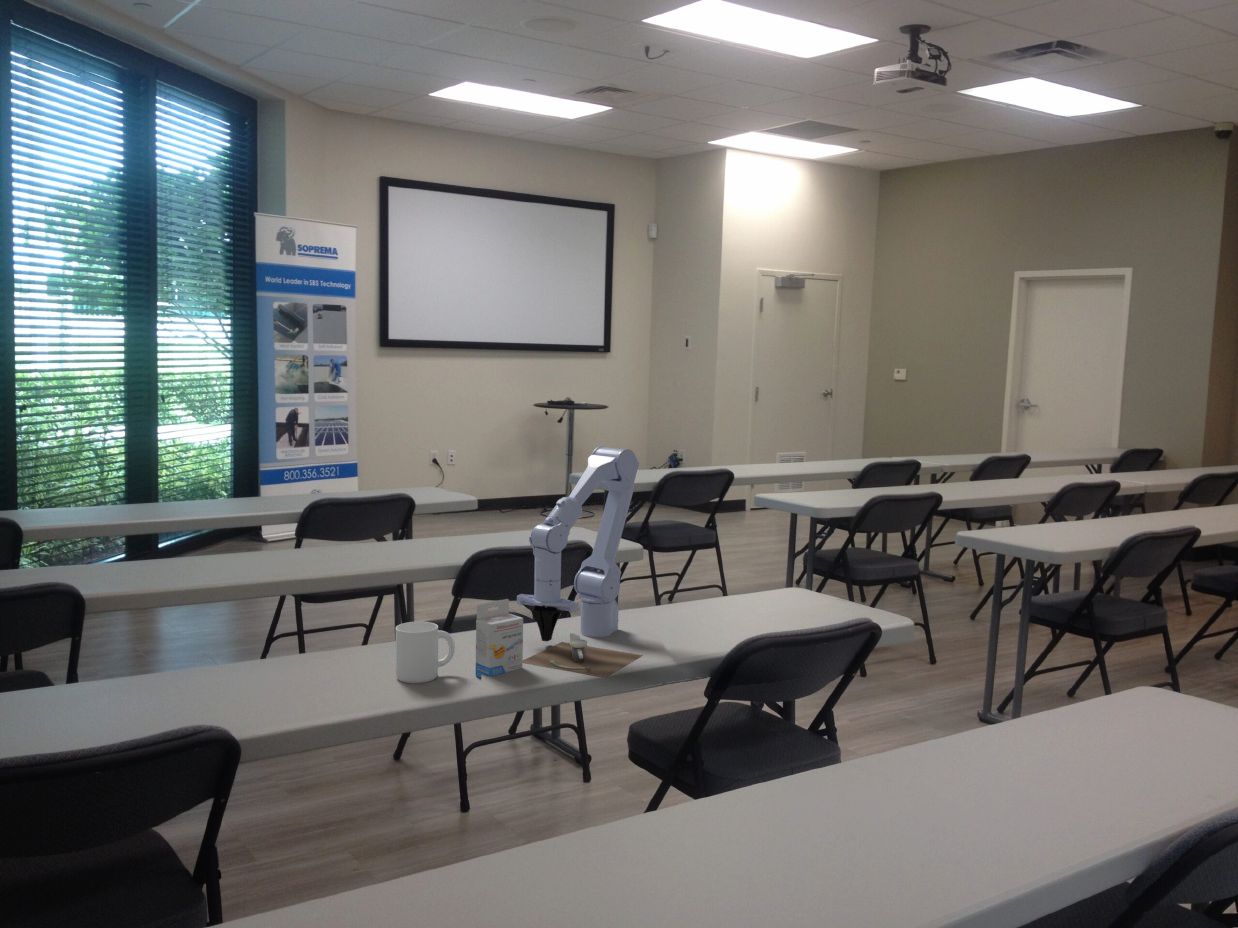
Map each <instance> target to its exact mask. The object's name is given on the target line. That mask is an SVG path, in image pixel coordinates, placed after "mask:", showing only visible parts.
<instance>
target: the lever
mask: <svg viewBox="0 0 1238 928" xmlns="http://www.w3.org/2000/svg"><path fill="white" fill-rule="evenodd" d="M569 643H570V646H571V649H572V661H573V662H583V661H584V654H585V647H586V646H588V640H586V639H583V638H581V637H580V633H579V632H575V633H574V632H572V633H571V632H570V633H569Z"/></svg>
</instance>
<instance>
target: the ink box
mask: <svg viewBox="0 0 1238 928" xmlns="http://www.w3.org/2000/svg"><path fill="white" fill-rule="evenodd" d="M476 607H477V608H476V620H475V677H476V678H479V679H482V675H484V676H488V677H493V676H495V675H496V676H497V675H501V674H504V673H509V672H512V671H513V672H514V671H517V670H520V669H523V663H522V661H523V660H524V659H523V656H524V653H523V652H524V649H523V648H524V617H521V616H519V615H515V614H512V613H509V611H510V599H508V598H505V599H499V600H494V601H489V602H488V601H487V602H484V603H478V605H477V606H476ZM492 607H498V608H497V609H493V610H491V609H490V608H492ZM488 609H490V610H488Z"/></svg>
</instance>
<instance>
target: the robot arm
mask: <svg viewBox="0 0 1238 928" xmlns="http://www.w3.org/2000/svg"><path fill="white" fill-rule="evenodd" d="M639 465H640V462H639V460H638V458H637V456H636V454H635V452H634V451H633V450H632V449H630V448H615V447H606V446H601V445H600V446H597V447H595V448H594V449H593V451H592V453H591V454H590V456H589V457H588V458H587V467H586V469H585V470H584V471H583V473H582V475H581V477H580V478H579V480H578V481H577V483H576V484H575V486H574V488H573V489H572V491H571V493H570V494H569V496H563V497H561V498H559V499H558V500H557V501H556V503H555V504H556V505H555V506H554V507H553V509H552V510H551V511H550V513H549V514H548V515H547V517H545V519H544V521H543V522H542V523H540V524H537V525H536V526H534V527H533V529H532V531H531V533H530V535H529V537H528V541H529V544H530V546H531V547H532V555H533V556H534V580H533V581H534V583H533V584H534V589H533V590H534V593H533V594H524V593H520V594H518V595H516V604H517V605H520V606H521V605H526V606H534V608H533V609H531V614H532V617H534V619H535V621H536V624H537V628H538V630H539V634H540V636H541V637H540V639H541V641H542V642H549V641H551V640H552V639H553V633H554V630H555V627H556V626H557V623H558V620H559V618H560V617H561V614H562V612H563V611H566V612H570V613H573V614H574V613H577V612H578V611H579V601H573V600H570V599H566V598H562V597H561V590H562V588H561V584H562V583H561V580H562V577H561V576H562V551H563V550H564V549H565V548H566V547H567V544H568V539H569V535H570V531H571V529H572V528H573V527H574V525H575V524H576V523H577V521H578V520H579V519H580V517H581V516H582V514H583V506H582V505H584V504H585V502H586V501H587V500H588V498H589V497H590V496H591V495H592V494H593V492H594V491H595V490H596V489H597V488H598V486H599V485H600V484H601V483H602V482H603V483H604V484H605V485H606V487H607V489H608V493H607V497H606V502H605V505H604V509H603V512H602V516H601V520H600V523H599V527H598V531H597V534H596V537H595V538H596V539H595V542H594V544H593V545H594V546H593V549H592V553H591V555H590V556H588V557H587V558H586V559H584V560H583V561H582V562H581V565H580V568H579V570H578V572H576V574H575V576H574V581H573V587H574V590H575V592H576V593H577V594H578V598H579V599H580V633H579V634H580V635H582V636H584V637H589V638H604V637H605V638H606V637H608V636H611V635H612V634H613V633H614V632H616V631H618V630H619V605H618V603H617V601H616V598H618V597H617V596H618V595H619V593H620V589H621V575H622V571H621V568H620V567H619V566H618V565H617V563H616V556H617V554H618V551H619V546H620V542H621V539H622V535H623V531H624V528H625V524H626V521H627V516H628V513H629V508H630V505H631V501H632V497H633V494H634V490H635V480H636V476H637V473H638V470H639ZM602 571H603V572H602Z"/></svg>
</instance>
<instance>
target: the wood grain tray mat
mask: <svg viewBox="0 0 1238 928" xmlns="http://www.w3.org/2000/svg"><path fill="white" fill-rule="evenodd" d="M643 656H644V655H643V654H639V653H638V654H636V653H632V652H625V651H620V650H613V649H607V648H603V647H601V648H600V647H595V646H590V645H587V646H586V647H585V654H584V661H583V662H573V661H572V649H571V646H570V642H565V641H560V642H558V643H556V644H554V645H552V646H550V647H547V648H546V649H544V650H542V651H540V652H538V653H536V654H533V655H531V656H529V657H527V658H525V659H523V660H522V664H526V665H532V666H538V667H542V668H549V669H553V670H559V671H565V672H571V673H576V674H582V675H587V676H591V677H598V678H604V679H606V678H608V677H609V676H611V675H613V674H614V673H616V672H618V671H620V670H621V669H623V668H624V667H626V666H628V665H629V664H631V663H633V662H634V661H635V662H636V660H638V659H640V658H642V657H643Z"/></svg>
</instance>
